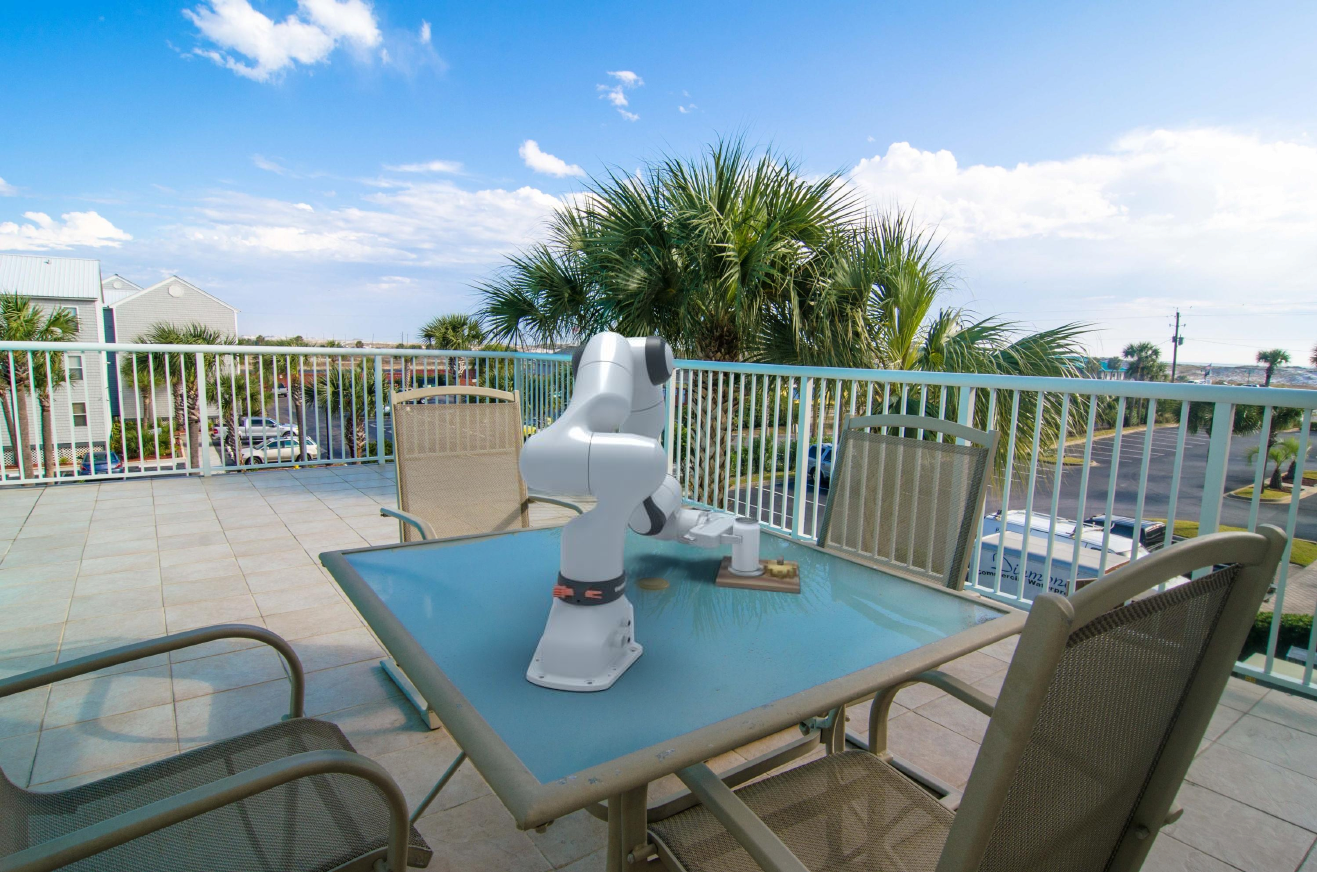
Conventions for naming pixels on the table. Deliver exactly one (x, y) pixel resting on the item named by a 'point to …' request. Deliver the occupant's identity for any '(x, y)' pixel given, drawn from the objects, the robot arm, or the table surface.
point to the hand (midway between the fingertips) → (747, 535)
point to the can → (746, 544)
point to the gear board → (761, 576)
